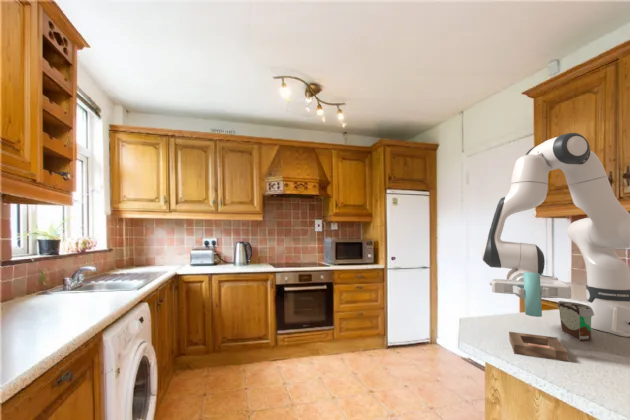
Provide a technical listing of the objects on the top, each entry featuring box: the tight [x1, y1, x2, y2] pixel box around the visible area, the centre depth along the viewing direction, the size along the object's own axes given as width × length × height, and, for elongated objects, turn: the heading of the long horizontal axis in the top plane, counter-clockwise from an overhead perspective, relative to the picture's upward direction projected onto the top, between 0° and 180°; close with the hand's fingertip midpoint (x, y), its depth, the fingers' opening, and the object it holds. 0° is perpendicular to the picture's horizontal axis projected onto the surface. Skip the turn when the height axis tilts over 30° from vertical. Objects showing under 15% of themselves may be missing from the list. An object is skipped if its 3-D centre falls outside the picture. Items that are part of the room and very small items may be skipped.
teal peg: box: [523, 272, 543, 318], centre depth 89 cm, size 4×4×12 cm
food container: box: [557, 300, 594, 342], centre depth 98 cm, size 12×6×10 cm, turn 168°
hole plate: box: [508, 331, 569, 362], centre depth 88 cm, size 12×12×3 cm
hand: (533, 292), depth 88 cm, fingers closed on teal peg, 4 cm apart
